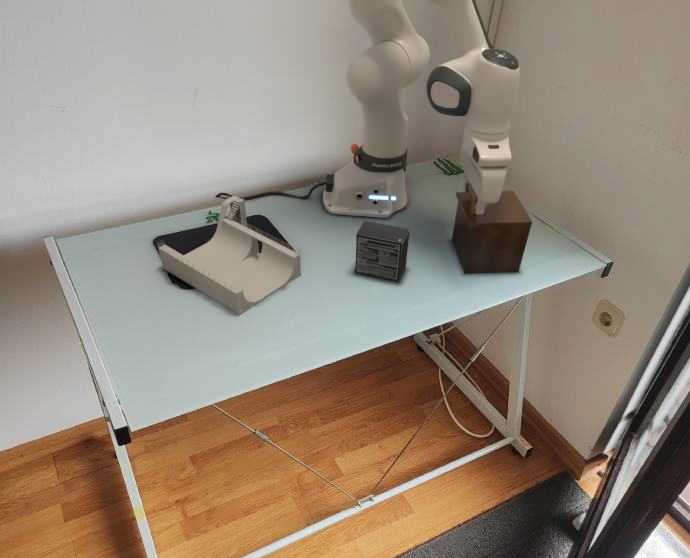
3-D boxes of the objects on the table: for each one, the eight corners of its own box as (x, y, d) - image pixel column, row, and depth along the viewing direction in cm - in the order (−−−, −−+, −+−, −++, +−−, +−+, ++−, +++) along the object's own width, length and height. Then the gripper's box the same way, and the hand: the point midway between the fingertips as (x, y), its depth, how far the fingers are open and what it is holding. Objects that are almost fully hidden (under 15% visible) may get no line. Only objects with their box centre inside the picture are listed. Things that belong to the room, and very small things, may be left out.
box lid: (469, 227, 123) (473, 205, 119) (455, 195, 133) (458, 174, 129) (531, 225, 124) (537, 204, 120) (512, 193, 133) (517, 173, 130)
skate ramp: (163, 268, 131) (153, 229, 124) (238, 227, 144) (233, 190, 137) (239, 315, 119) (234, 275, 112) (313, 266, 132) (312, 228, 125)
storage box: (464, 274, 131) (473, 226, 123) (451, 241, 141) (459, 195, 133) (518, 272, 132) (531, 225, 124) (502, 239, 142) (512, 193, 134)
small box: (407, 267, 132) (411, 227, 125) (399, 284, 128) (403, 243, 121) (362, 258, 135) (364, 218, 128) (353, 274, 130) (355, 233, 123)
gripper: (458, 119, 124) (448, 179, 134) (482, 162, 109) (469, 226, 119) (486, 118, 125) (475, 178, 134) (514, 162, 110) (500, 225, 119)
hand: (473, 201), depth 126 cm, fingers open, 8 cm apart
